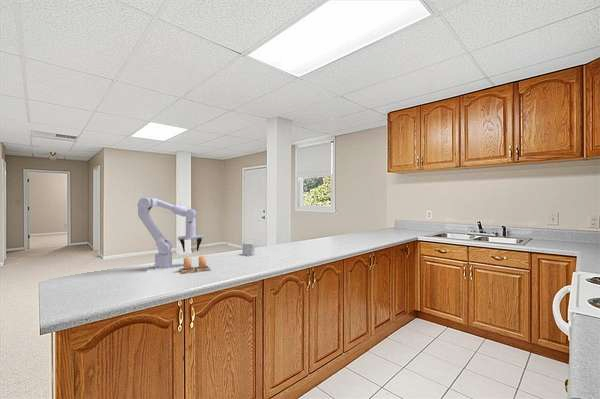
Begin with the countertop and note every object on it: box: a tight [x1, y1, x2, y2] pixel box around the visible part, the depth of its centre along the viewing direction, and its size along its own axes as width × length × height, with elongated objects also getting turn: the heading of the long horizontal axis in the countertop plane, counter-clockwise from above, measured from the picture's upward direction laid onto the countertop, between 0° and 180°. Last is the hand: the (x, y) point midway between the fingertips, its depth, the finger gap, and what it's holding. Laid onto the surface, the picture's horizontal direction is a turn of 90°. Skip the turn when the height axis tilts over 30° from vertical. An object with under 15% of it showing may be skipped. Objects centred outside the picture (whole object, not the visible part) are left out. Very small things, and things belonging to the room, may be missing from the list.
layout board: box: [179, 264, 212, 275], centre depth 162 cm, size 16×12×2 cm
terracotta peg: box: [198, 255, 207, 269], centre depth 163 cm, size 4×4×7 cm
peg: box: [183, 257, 192, 271], centre depth 160 cm, size 4×4×7 cm
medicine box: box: [241, 242, 256, 257], centre depth 206 cm, size 8×4×9 cm, turn 71°
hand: (190, 251), depth 173 cm, fingers open, 7 cm apart
